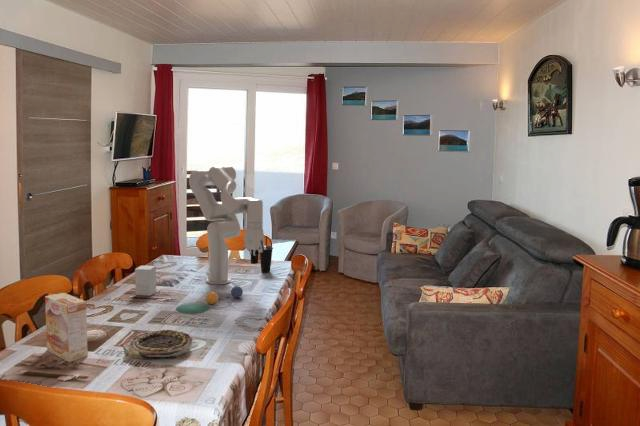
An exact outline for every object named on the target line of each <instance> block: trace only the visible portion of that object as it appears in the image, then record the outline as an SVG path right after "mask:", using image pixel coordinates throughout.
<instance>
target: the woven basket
mask: <svg viewBox="0 0 640 426" xmlns="http://www.w3.org/2000/svg"><path fill="white" fill-rule="evenodd" d="M192 345H193V337H191V335H190V334H188V333H186V332H183V331H178V330H173V329H161V330H155V331H152V332H148V331H145V332H143V333H139V334H138V335H135V336H134V337H133V338H131V340H130V341H129V342H128V343H127V344H125V345H123V348H125V349H124V351H125V354H126V356H124V357H123V360H124V362H127V360H130V359H131V358H132V359H135V358H136V359H140V360H148V359H151V360H152V359H154V360H155V359H156V360H160V359H162V360H163V359H176V358H177V357H180V355H185V354H187V353H188V351H189V349H190V347H191V346H192Z"/></svg>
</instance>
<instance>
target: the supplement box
mask: <svg viewBox="0 0 640 426" xmlns="http://www.w3.org/2000/svg"><path fill="white" fill-rule="evenodd" d="M156 270H157V269H156V265H140V266H138V267H136V268H135V269H134V278H135V280H134V281H135V296H152V295H153V294H155V293H156V292H157V276H156V275H157V273H156Z"/></svg>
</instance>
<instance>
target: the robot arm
mask: <svg viewBox="0 0 640 426" xmlns="http://www.w3.org/2000/svg"><path fill="white" fill-rule="evenodd" d="M236 178H237V172H236V169H235V168H234V167H233V166H231V165H214V166H211V167H210V168H205V169H203V168H201V169H196V170H193V171H191V173H190V174H189V178H188V183H189V187H190V190H191V191H192V194H193V196H195V198H196V200H197V202H198V206H199V208H200V210H201V212H202V213H201V214H202V215H203V218H204V219H205V220H206V221H209V222H210V223H209V224H208V225H207V228H206V232H207V237H208V254H209V255H208V272H206V275H207V276H208V277H207V278H206V279H205V282H206V284H210V285H226V284H229V283H231V282H232V279H231V277H229V247H228V243H227V242H226V241H225V239H231V238H232V239H233V238H237V237H238V236H240V235H241V225H240V222H239V220H238V218H237V215H238V214H246V227H245V230H244V236H243V237H244V238H243V246H244V248H245V249H246V250H247V251H248V252H249V255H250V264H251V265H254V264H255V265H256V264H258V263H259V256H260V253H261V252H263V248H264V245H265V233H264V229H263V227H264V225H263V219H264V218H263V217H264V215H263V214H264V213H263V212H264V210H263V209H264V206H263V205H264V204H263V200H262V199H260V198H254V197H250V196H247V197H233V196H232V194H233V193H234V192H235V191H236V189H237V182H236V181H235V180H236ZM206 186H215V187H216V188H217V189H218V191H219V192H220V200H221V201H217V200H216V198H215V195H214V194H213V193H212V191H211V190H210V189H208V187H206Z"/></svg>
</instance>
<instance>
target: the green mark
mask: <svg viewBox="0 0 640 426" xmlns="http://www.w3.org/2000/svg"><path fill="white" fill-rule="evenodd" d="M208 310H210V306H209V305H208V304H205V303H200V302H190V303H188V302H187V303H184V304H180V305H178V306H176V311H177V312H178V313H182V314H187V313H188V314H189V315H193V314H201V313H204V312H207V311H208Z"/></svg>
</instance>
